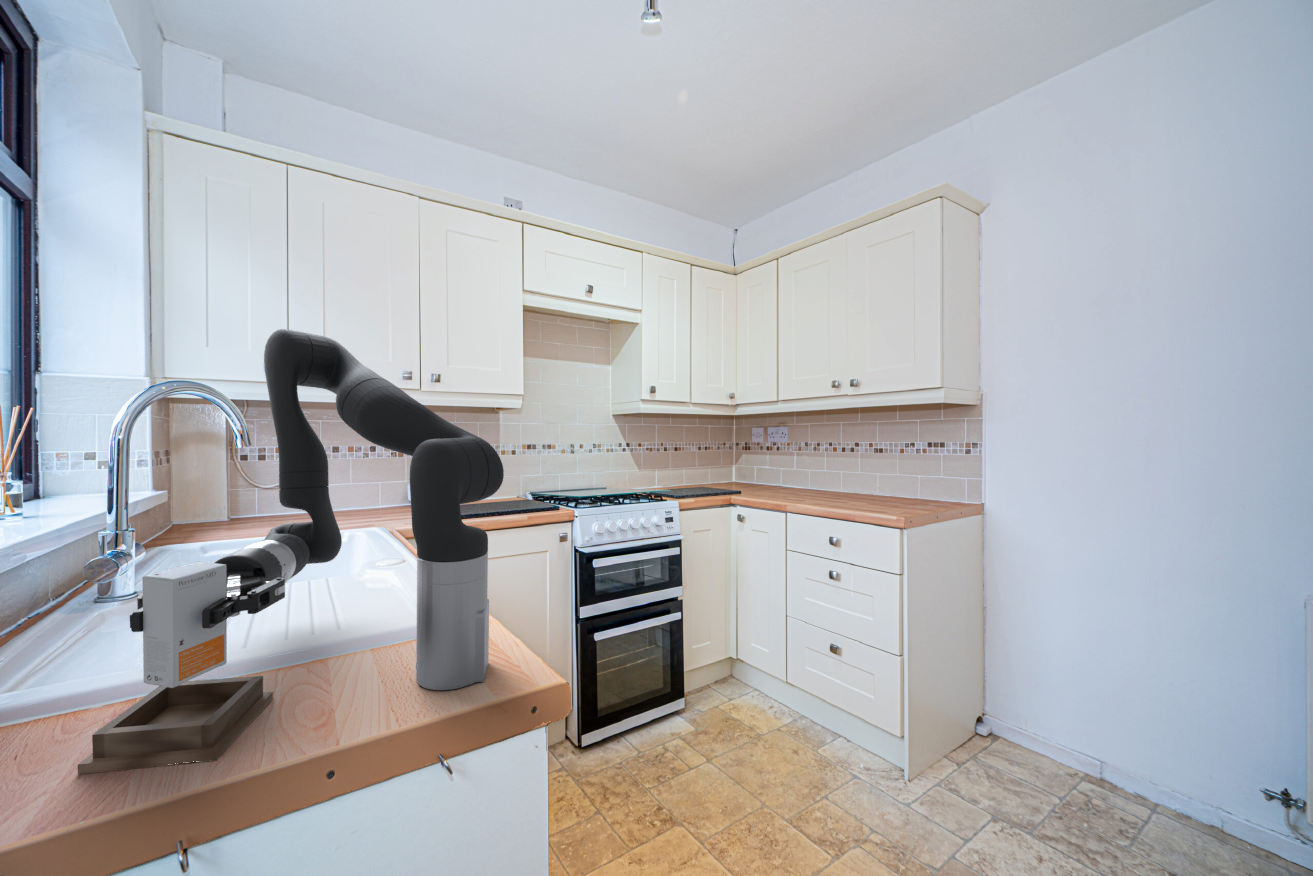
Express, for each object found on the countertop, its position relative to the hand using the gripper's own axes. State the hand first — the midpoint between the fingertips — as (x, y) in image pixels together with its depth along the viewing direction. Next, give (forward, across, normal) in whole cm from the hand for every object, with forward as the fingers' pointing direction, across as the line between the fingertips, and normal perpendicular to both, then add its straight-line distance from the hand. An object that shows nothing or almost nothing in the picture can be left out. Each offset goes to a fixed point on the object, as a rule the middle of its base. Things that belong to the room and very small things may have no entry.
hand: (171, 621), depth 57 cm
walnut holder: (-2, 0, +14) cm, 14 cm away
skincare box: (-2, 0, +7) cm, 8 cm away
